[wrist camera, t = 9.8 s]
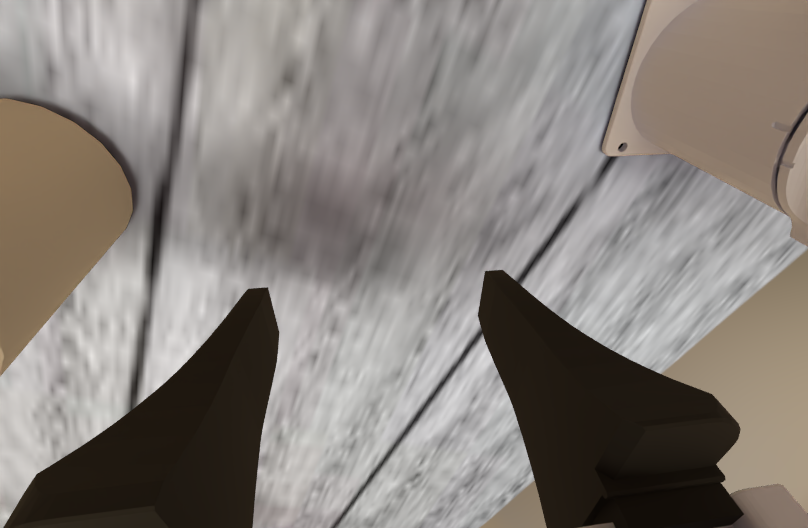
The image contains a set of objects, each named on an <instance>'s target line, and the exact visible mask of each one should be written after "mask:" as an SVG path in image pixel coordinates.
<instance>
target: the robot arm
mask: <svg viewBox="0 0 808 528" xmlns="http://www.w3.org/2000/svg"><path fill="white" fill-rule="evenodd" d="M622 143H623V146H622V147H621V148H620V149H618V147H619V145H620V144H622ZM602 151H603V153H605V154H606V155H607V156H629V155H653V154H673V155H675V156H677V157H679V158H681V159H682V160H684V161H686V162H688V163H690V164H692V165H694V166H696V167H697V168H699V169H701V170H703V171H705V172H707V173H709V174H711V175H712V176H714V177H716V178H718V179H720V180H722V181H724V182H726V183H727V184H729V185H731V186H733V187H735V188H737V189H739V190H741V191H742V192H744V193H746V194H748V195H750V196H752V197H754V198H756V199H757V200H759V201H761V202H763V203H765V204H767V205H769V206H771V207H773V208H774V209H776V210H778V211H780V212H782V213H784V214H786V215H788V216H789V217H790V218H791V221H792V229H791V233H790V237H792V238H794V239H795V240H797V241H799V242H801V243H802V244H804V245H806V246H807V247H808V0H647V2H646V6H645V9H644V12H643V15H642V18H641V22H640V25H639V28H638V31H637V35H636V38H635V41H634V44H633V48H632V51H631V54H630V57H629V61H628V64H627V67H626V70H625V74H624V77H623V80H622V83H621V86H620V90H619V93H618V96H617V99H616V103H615V106H614V109H613V112H612V116H611V119H610V122H609V125H608V129H607V132H606V135H605V138H604V142H603V145H602ZM478 317H479V321H480V325H481V329H482V332H483V335H484V339H485V342H486V344H487V347H488V349H489V351H490V354H491V356H492V358H493V361H494V363H495V365H496V368H497V370H498V372H499V375H500V377H501V379H502V381H503V384H504V386H505V388H506V391H507V393H508V395H509V398H510V400H511V403H512V405H513V408H514V411H515V414H516V417H517V421H518V424H519V427H520V430H521V433H522V436H523V440H524V443H525V447H526V450H527V453H528V457H529V460H530V464H531V467H532V471H533V475H534V479H535V482H536V486H537V490H538V493H539V497H540V502H541V506H542V510H543V514H544V518H545V522H546V526H547V528H808V513H807V512H806V511H805V510H804V509H803V508H802V507H801V505H800V504H799V503H798V502H797V501H796V500H795V499H794V498H793V496H792V495H791V494H790V493H789V492H788V491H787V489H786V488H785V487H784V486H783V485H780V484H774V485H767V486H761V487H754V488H747V489H742V490H738V491H736V492H734V493H731V494H730V495H729V493H728V492H727V491H726V489H725V488H724V487H723V485H722V484H721V483H720V482H723V481H724V480H725V476H724V474H723V473H722V472H721V470H719V468H718V467H717V465H716V464H717V462H718V461H719V460H720V459H721V458H722V457H723V456H724V455H725V454H726V453H727V452H728V451H729V450H730V448H731V447H732V446H733V445H734V444H735V442H736V441H737V440H738V437H739V434H740V427H739V424H738V423H737V422H736V420H735V419H734V418H733V417H732V416H731V415H730V414H729V413H728V411H727V410H726V409H725V408H724V407H723V406H722V405H721V404H720V403H719V401H718V400H717V399H716V398H715V397H714V396H713V395H712V394H710V393H707V392H704V391H702V390H699V389H697V388H694V387H692V386H689V385H686V384H684V383H681V382H678V381H676V380H673V379H671V378H668V377H666V376H664V375H662V374H659V373H657V372H655V371H653V370H650V369H648V368H646V367H644V366H642V365H640V364H638V363H635V362H633V361H631V360H629V359H627V358H626V357H624V356H622V355H620V354H618V353H616V352H614V351H612V350H610V349H609V348H607V347H605V346H603V345H602V344H600V343H598V342H597V341H595V340H593V339H592V338H590V337H589V336H587V335H585V334H584V333H582V332H581V331H579V330H578V329H576V328H575V327H573V326H572V325H570V324H569V323H567V322H566V321H565V320H563V319H562V318H561V317H559V316H558V315H556V314H555V313H554V312H553V311H551V310H550V309H549V308H547V307H546V306H545V305H544V304H542V303H541V302H540V301H539V300H537V299H536V298H535V297H534V296H533V295H531V294H530V293H529V292H528V291H527V290H525V289H524V288H523V287H522V286H521V285H520V284H518V283H517V282H516V281H515V280H514V279H513V278H511V277H510V276H509V275H508V274H507V273H506V272H504V271H503V270H495V271H485V275H484V281H483V287H482V294H481V300H480V306H479V312H478ZM278 342H279V330H278V326H277V322H276V318H275V314H274V310H273V306H272V302H271V298H270V294H269V290H268V287H267V288H254V289H248V290H247V291H246V292H245V293H244V294H243V296H242V297H241V298H240V300H239V301H238V302H237V304H236V305H235V306H234V307H233V309H232V310H231V311H230V313H229V314H228V315H227V316H226V318H225V319H224V320H223V321H222V323H221V324H220V325H219V326H218V327H217V329H216V330H215V331H214V332H213V334H212V335H211V336H210V337H209V338H208V339H207V341H206V342H205V343H204V344H203V345H202V346H201V347H200V348H199V349H198V350H197V351H196V353H195V354H194V355H193V356H192V357H191V358H190V359H189V360H188V361H187V362H186V363H185V364H184V365H183V366H182V367H181V368H180V369H179V370H178V371H177V372H176V373H175V374H174V375H173V376H172V377H171V378H170V379H169V380H168V381H166V382H165V383H164V384H163V385H162V386H161V387H160V388H159V389H157V390H156V391H155V392H154V393H152V394H151V395H150V396H149V397H148V398H146V399H145V400H144V401H143V402H141V403H140V404H139V405H138V406H137V407H135V408H134V409H133V410H132V411H130V412H129V413H128V414H126V415H125V416H124V417H122V418H121V419H120V420H118V421H117V422H116V423H114V424H113V425H112V426H110V427H109V428H107V429H106V430H105V431H103V432H102V433H100V434H99V435H97V436H96V437H95V438H93V439H92V440H90V441H89V442H87V443H86V444H84V445H83V446H81V447H80V448H78V449H76V450H75V451H73V452H72V453H70V454H68V455H67V456H65V457H64V458H62V459H61V460H59V461H57V462H56V463H54V464H53V465H51V466H50V467H48V468H46V469H45V470H43V471H41V472H40V473H38V474H37V475H36V476H35V478H34V479H33V481H32V482H31V484H30V485H29V487H28V488H27V490H26V491H25V493H24V494H23V496H22V498H21V499H20V501H19V503H18V504H17V506H16V508H15V509H14V511H13V513H12V514H11V516H10V518H9V519H8V521H7V523H6V524H5V526H4V528H252V527H253V514H254V501H255V490H256V479H257V469H258V460H259V451H260V442H261V435H262V429H263V423H264V419H265V414H266V409H267V405H268V400H269V396H270V391H271V387H272V382H273V377H274V372H275V368H276V363H277V354H278Z"/></svg>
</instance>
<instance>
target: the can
mask: <svg viewBox="0 0 808 528" xmlns="http://www.w3.org/2000/svg"><path fill="white" fill-rule="evenodd" d="M132 212H133V205H132V193H131V188H130V186H129V183H128V181H127V179H126V177H125V175H124V173H123V170H122V168H121V166H120V165H119V164H118V163H117V161H116V160H115V159H114V158H113V157H112V155H111V154H110V153H109V152H108V151H107V149H106V148H105V147H104V146H103V145H102V143H101V142H99V141H98V140H97V139H95V138H94V137H93V136H91V135H90V134H89V133H87V132H86V131H85V130H84V129H82V128H81V127H80V126H78V125H77V124H76V123H74V122H73V121H70V120H68V119H66V118H64V117H62V116H60V115H58V114H56V113H54V112H52V111H50V110H47V109H45V108H43V107H41V106H37V105H33V104H28V103H24V102H20V101H15V100H11V99H0V376H1V375H2V374H3V372H4V371H5V370H6V369H7V368H8V367H9V365H10V364H11V363H12V362H13V361H14V360H15V358H16V357H17V356H18V355H19V354H20V352H21V351H22V350H23V349H24V348H25V347H26V345H27V344H28V343H29V342H30V341H31V340H32V338H33V337H34V336H35V335H36V334H37V333H38V331H39V330H40V329H41V328H42V327H43V325H44V324H45V323H46V322H47V321H48V320H49V318H50V317H51V316H52V315H53V314H54V313H55V311H56V310H57V309H58V308H59V307H60V305H61V304H62V303H63V302H64V301H65V300H66V298H67V297H68V296H69V295H70V294H71V293H72V291H73V290H74V289H75V288H76V287H77V285H78V284H79V283H80V282H81V281H82V280H83V278H84V277H85V276H86V275H87V274H88V273H89V271H90V270H91V269H92V268H93V267H94V265H95V264H96V263H97V262H98V261H99V260H100V258H101V257H102V256H103V255H104V254H105V253H106V251H107V250H108V249H109V248H110V247H111V245H112V244H113V243H114V242H115V241H116V240H117V238H118V237H119V236H120V235H121V234H122V233H123V231H124V230H125V229H126V228H127V225H128V222H129V220H130V217H131V214H132Z"/></svg>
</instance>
